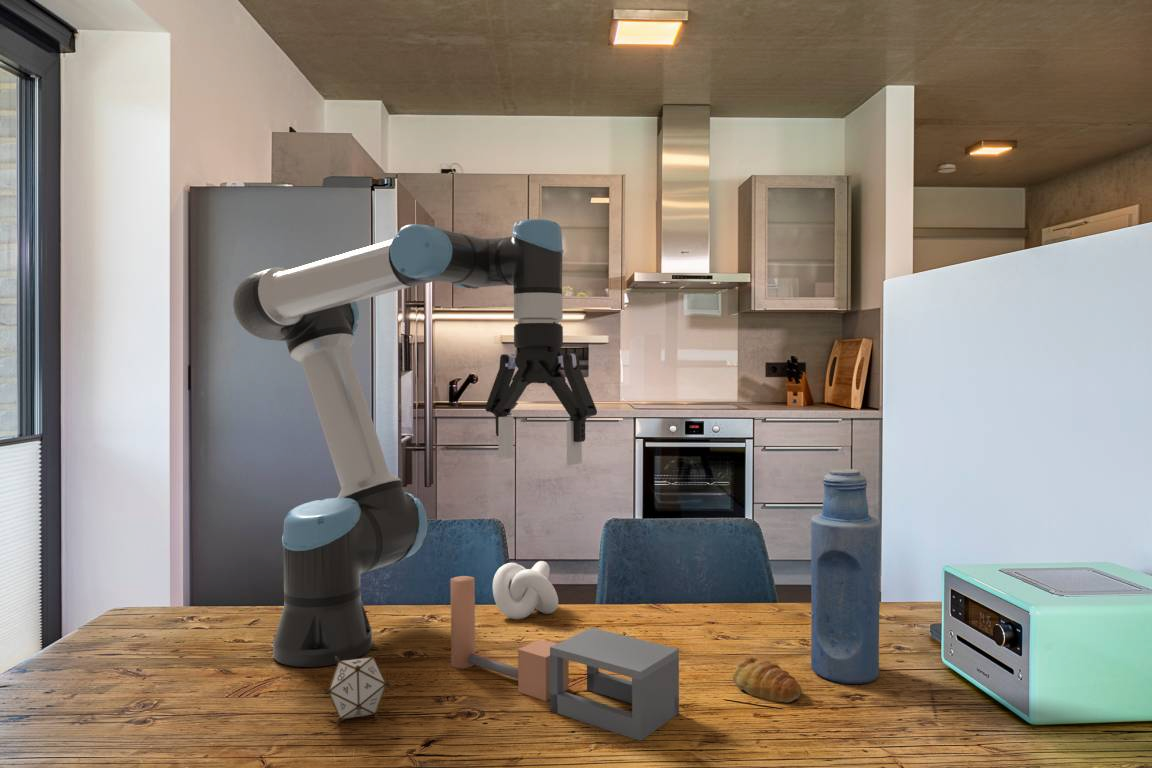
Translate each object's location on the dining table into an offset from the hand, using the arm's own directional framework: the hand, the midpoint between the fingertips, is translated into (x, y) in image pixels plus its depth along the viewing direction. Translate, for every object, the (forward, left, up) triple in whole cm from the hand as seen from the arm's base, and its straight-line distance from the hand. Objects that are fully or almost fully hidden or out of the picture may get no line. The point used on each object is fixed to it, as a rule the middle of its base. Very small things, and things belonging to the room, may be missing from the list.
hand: (539, 460), depth 122 cm
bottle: (+40, +22, -31) cm, 55 cm away
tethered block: (+1, -9, -31) cm, 32 cm away
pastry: (+33, +10, -31) cm, 46 cm away
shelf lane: (+20, -9, -31) cm, 38 cm away
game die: (-6, -30, -31) cm, 43 cm away
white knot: (-16, +16, -31) cm, 38 cm away
